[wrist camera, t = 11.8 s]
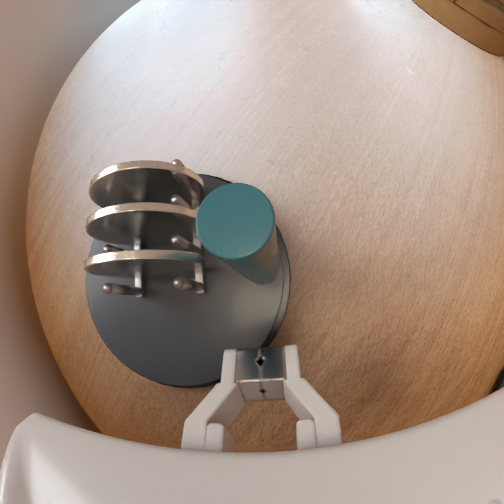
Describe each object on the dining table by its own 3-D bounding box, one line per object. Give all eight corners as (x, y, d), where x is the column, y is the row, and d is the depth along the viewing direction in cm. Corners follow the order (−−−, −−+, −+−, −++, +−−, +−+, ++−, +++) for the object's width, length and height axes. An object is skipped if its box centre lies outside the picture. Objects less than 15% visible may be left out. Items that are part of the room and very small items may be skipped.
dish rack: (293, 378, 19) (305, 477, 6) (100, 376, 21) (-10, 407, 8) (270, 164, 22) (256, 39, 10) (95, 197, 24) (1, 137, 11)
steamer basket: (451, 42, 25) (472, -3, 14) (384, -21, 30) (391, -57, 18) (523, 68, 23) (544, 39, 12) (462, 1, 28) (473, -26, 17)
